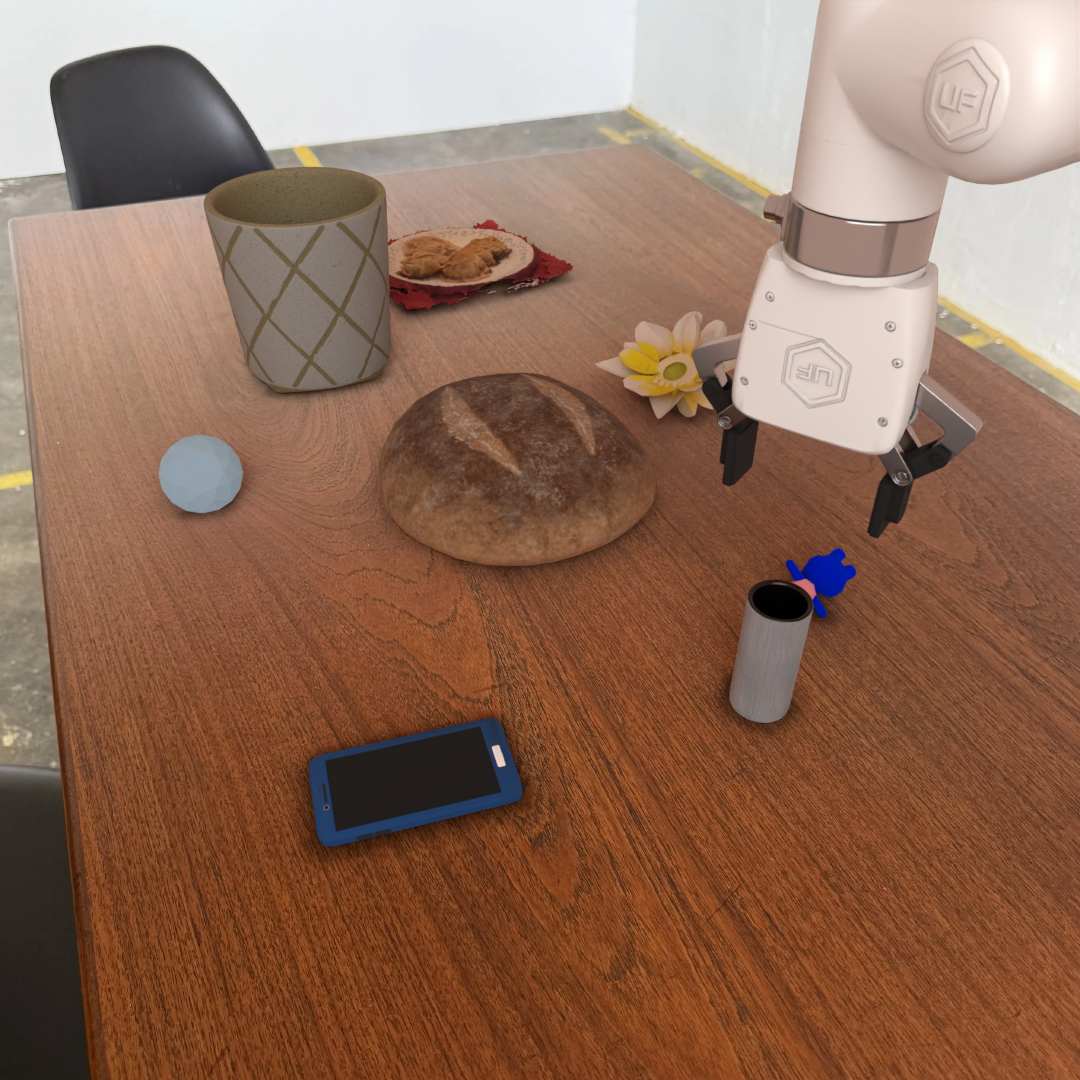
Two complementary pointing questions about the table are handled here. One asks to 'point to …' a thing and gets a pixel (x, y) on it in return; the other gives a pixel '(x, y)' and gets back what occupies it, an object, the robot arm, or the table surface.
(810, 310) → the robot arm
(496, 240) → the plate with food
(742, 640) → the planter
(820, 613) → the figurine
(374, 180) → the planter
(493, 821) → the table surface
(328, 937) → the table surface
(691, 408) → the decorative flower
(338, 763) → the cell phone
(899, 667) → the table surface
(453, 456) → the bread
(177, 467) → the gemstone
